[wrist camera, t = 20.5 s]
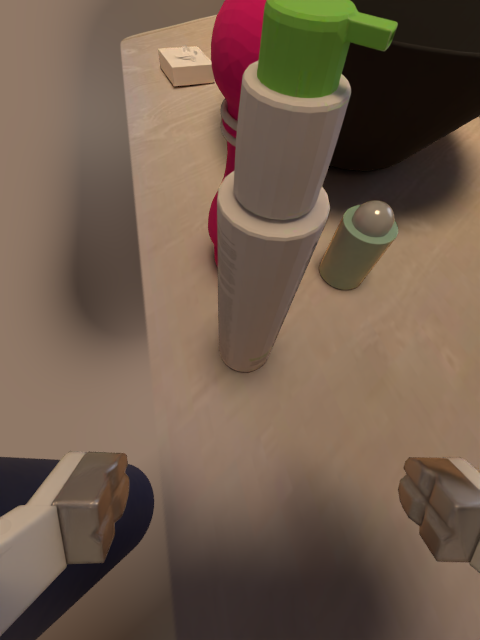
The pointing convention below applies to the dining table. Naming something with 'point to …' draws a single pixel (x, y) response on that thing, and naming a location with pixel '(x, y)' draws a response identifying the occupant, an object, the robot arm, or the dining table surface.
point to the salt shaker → (358, 244)
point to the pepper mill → (233, 73)
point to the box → (186, 65)
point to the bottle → (283, 166)
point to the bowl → (410, 82)
